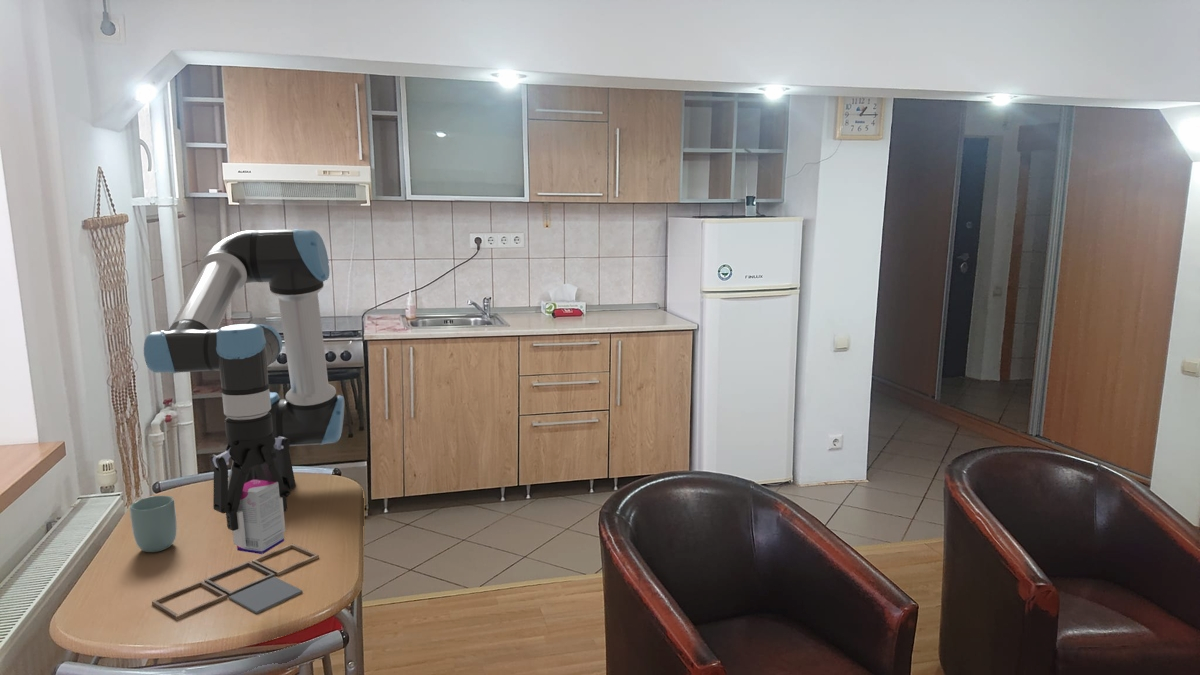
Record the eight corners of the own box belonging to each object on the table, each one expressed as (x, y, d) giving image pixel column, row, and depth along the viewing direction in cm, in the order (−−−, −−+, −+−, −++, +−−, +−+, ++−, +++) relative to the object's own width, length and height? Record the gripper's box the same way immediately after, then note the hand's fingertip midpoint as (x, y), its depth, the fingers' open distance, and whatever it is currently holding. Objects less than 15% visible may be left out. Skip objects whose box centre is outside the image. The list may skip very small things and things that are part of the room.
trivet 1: (201, 583, 147) (201, 580, 147) (227, 597, 142) (227, 594, 142) (152, 604, 140) (151, 601, 140) (177, 619, 135) (176, 616, 135)
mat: (274, 578, 149) (274, 576, 149) (302, 592, 144) (302, 590, 144) (229, 598, 142) (228, 596, 142) (256, 613, 137) (256, 611, 137)
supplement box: (285, 540, 143) (279, 481, 140) (262, 555, 137) (255, 493, 135) (259, 536, 145) (253, 477, 142) (235, 550, 139) (228, 490, 137)
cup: (160, 558, 158) (154, 511, 156) (126, 555, 159) (120, 508, 158) (187, 541, 165) (182, 496, 163) (155, 538, 167) (149, 494, 165)
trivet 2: (292, 546, 162) (292, 543, 162) (318, 557, 157) (318, 554, 157) (251, 563, 155) (251, 560, 155) (277, 575, 150) (277, 572, 150)
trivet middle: (249, 564, 155) (249, 561, 155) (275, 576, 150) (275, 573, 150) (204, 582, 148) (204, 579, 148) (230, 596, 143) (229, 593, 142)
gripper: (287, 398, 146) (297, 514, 151) (179, 424, 131) (194, 552, 135) (311, 404, 142) (320, 523, 146) (202, 431, 126) (217, 564, 131)
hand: (260, 537), depth 141 cm, fingers closed on supplement box, 7 cm apart
